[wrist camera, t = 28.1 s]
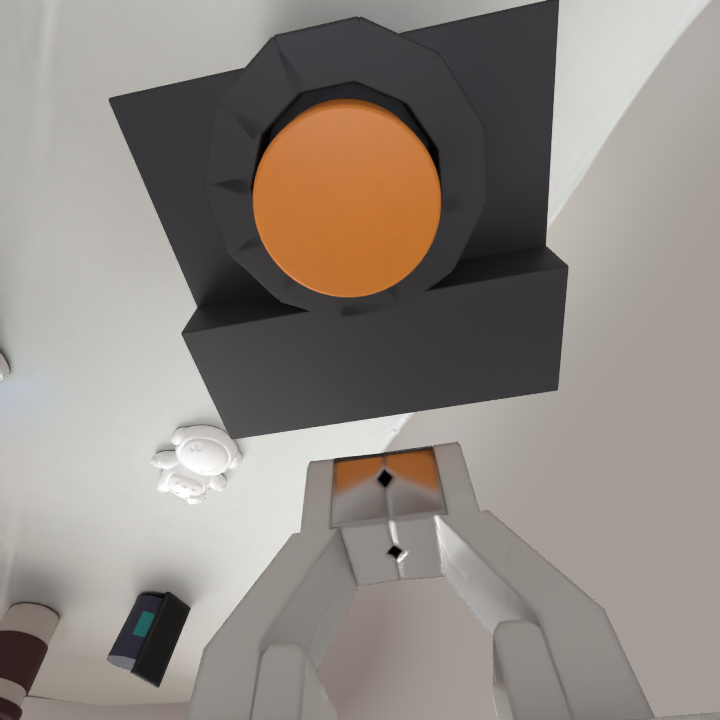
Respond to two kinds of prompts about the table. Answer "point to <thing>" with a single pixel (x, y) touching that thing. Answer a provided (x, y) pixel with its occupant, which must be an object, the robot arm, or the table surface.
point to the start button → (347, 198)
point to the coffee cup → (22, 653)
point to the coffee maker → (386, 349)
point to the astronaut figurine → (196, 462)
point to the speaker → (149, 637)
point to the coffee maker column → (376, 85)
